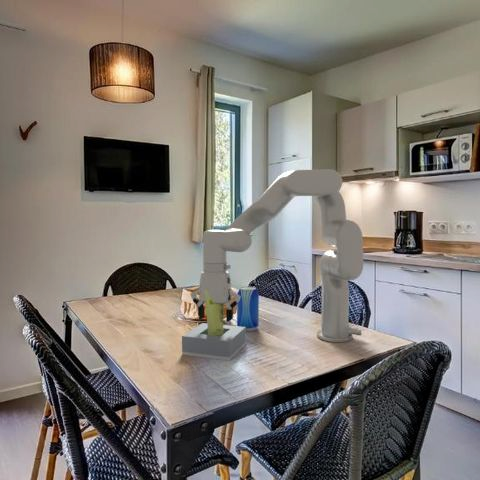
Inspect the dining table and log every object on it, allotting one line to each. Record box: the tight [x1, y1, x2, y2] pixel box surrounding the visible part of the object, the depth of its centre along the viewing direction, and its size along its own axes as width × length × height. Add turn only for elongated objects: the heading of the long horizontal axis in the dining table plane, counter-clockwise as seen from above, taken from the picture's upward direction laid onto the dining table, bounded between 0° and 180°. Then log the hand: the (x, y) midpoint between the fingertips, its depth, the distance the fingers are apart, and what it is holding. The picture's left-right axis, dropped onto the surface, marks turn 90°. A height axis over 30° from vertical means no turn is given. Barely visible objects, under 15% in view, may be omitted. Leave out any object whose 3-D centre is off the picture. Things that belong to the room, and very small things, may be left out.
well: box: [181, 322, 247, 362], centre depth 129 cm, size 16×16×6 cm
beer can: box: [236, 286, 260, 332], centre depth 152 cm, size 8×8×16 cm
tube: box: [204, 289, 225, 336], centre depth 129 cm, size 6×5×20 cm
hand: (215, 319), depth 129 cm, fingers open, 9 cm apart
